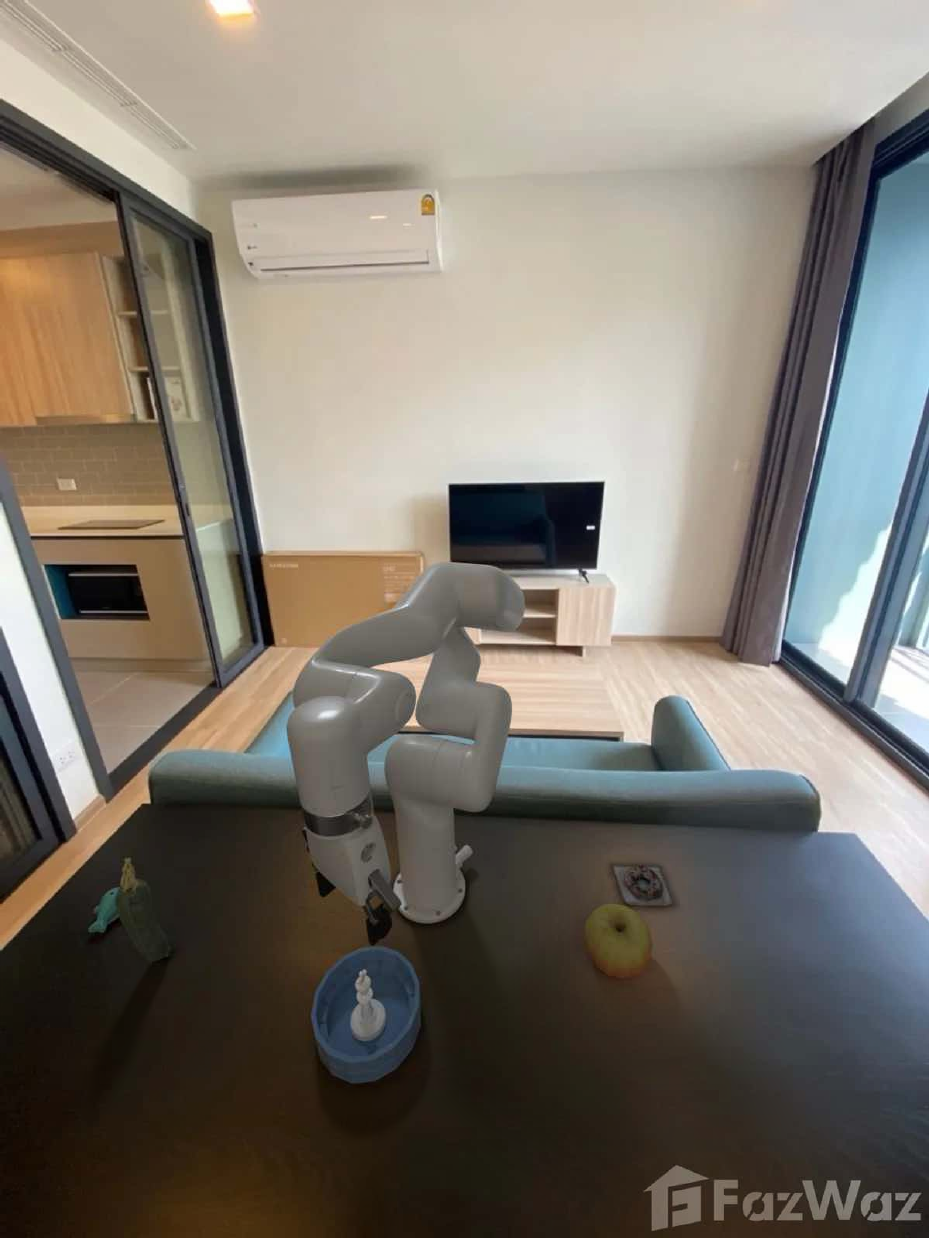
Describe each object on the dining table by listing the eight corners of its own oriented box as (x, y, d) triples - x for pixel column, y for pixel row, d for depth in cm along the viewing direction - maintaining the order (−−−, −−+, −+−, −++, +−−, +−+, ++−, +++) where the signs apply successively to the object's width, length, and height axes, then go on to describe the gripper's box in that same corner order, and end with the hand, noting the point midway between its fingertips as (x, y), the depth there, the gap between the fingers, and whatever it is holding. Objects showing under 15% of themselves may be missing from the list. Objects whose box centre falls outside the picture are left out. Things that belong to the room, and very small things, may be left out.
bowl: (376, 949, 78) (373, 927, 76) (442, 1014, 69) (440, 991, 68) (296, 1028, 68) (290, 1005, 66) (361, 1115, 60) (357, 1091, 58)
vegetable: (158, 978, 75) (120, 881, 67) (133, 972, 76) (93, 876, 68) (179, 949, 79) (146, 855, 71) (155, 944, 80) (120, 850, 72)
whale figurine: (143, 897, 88) (137, 881, 86) (113, 937, 81) (106, 921, 79) (112, 896, 88) (105, 880, 87) (79, 936, 81) (72, 919, 80)
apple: (639, 1004, 70) (645, 967, 67) (573, 968, 75) (576, 931, 72) (655, 946, 78) (661, 910, 75) (594, 916, 83) (598, 881, 80)
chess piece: (392, 1008, 70) (387, 960, 66) (375, 1047, 66) (368, 998, 62) (361, 996, 71) (354, 949, 68) (343, 1033, 67) (334, 985, 63)
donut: (623, 905, 84) (624, 896, 84) (612, 866, 92) (613, 858, 91) (673, 906, 84) (675, 897, 83) (658, 867, 91) (660, 859, 90)
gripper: (417, 821, 52) (426, 931, 59) (320, 755, 63) (337, 855, 69) (360, 868, 47) (377, 983, 54) (265, 787, 57) (289, 892, 64)
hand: (355, 910), depth 61 cm, fingers open, 9 cm apart
